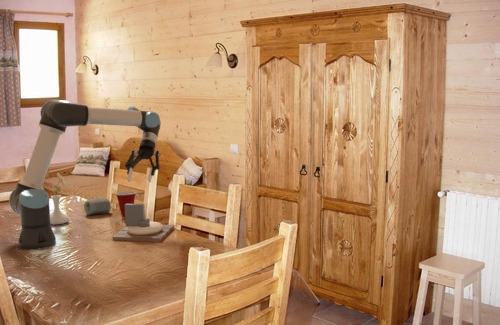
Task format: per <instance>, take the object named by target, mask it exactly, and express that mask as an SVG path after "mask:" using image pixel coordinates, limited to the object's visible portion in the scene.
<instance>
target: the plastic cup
mask: <svg viewBox="0 0 500 325" xmlns="http://www.w3.org/2000/svg"><path fill="white" fill-rule="evenodd" d="M136 194H137V191H120V192H115V196H116V198H117V202H118V205H119V206H118V207H119V210H120V214H121V216H123V217H125V204H135V200H136Z"/></svg>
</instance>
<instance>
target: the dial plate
mask: <svg viewBox="0 0 500 325" xmlns="http://www.w3.org/2000/svg"><path fill="white" fill-rule="evenodd" d="M126 227H127V226H126V225H125V227H124V228H122V229H121V230H120V231H118V232H117V233H115V234H114V235H113V236H112V241H124V240H126V241H129V242H131V241H132V242H156V243H157V242H158V243H159V242H160V243H161V242H162V241H163V240H164V239H165V238H166V237H167V236H168V235H169V234H170V233H172V231H173V230H174V229H175V224H162V230H161V231H160V232H158V233H154V234H149V235H133V234H129V233H127V228H126Z"/></svg>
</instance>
